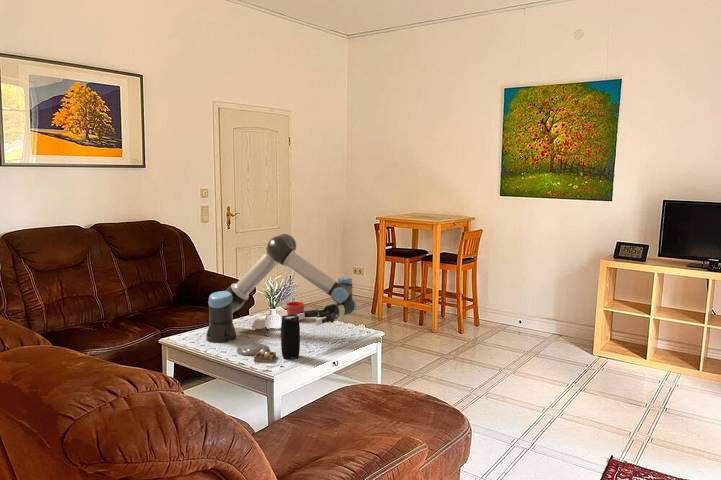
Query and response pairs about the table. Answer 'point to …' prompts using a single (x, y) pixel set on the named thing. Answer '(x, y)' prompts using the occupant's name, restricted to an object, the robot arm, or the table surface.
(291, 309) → the flower pot
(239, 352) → the slate trivet
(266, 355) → the brass ball
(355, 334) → the table surface
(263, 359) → the walnut dish
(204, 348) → the table surface
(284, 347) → the portable speaker
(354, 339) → the table surface
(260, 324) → the penguin
